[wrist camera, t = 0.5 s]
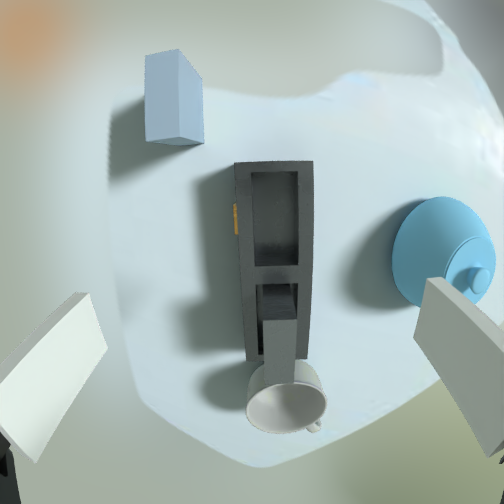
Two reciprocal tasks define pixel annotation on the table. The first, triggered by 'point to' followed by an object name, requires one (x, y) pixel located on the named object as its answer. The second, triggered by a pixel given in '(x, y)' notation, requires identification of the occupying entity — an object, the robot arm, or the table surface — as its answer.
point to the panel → (173, 100)
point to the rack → (275, 261)
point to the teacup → (286, 402)
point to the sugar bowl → (443, 250)
